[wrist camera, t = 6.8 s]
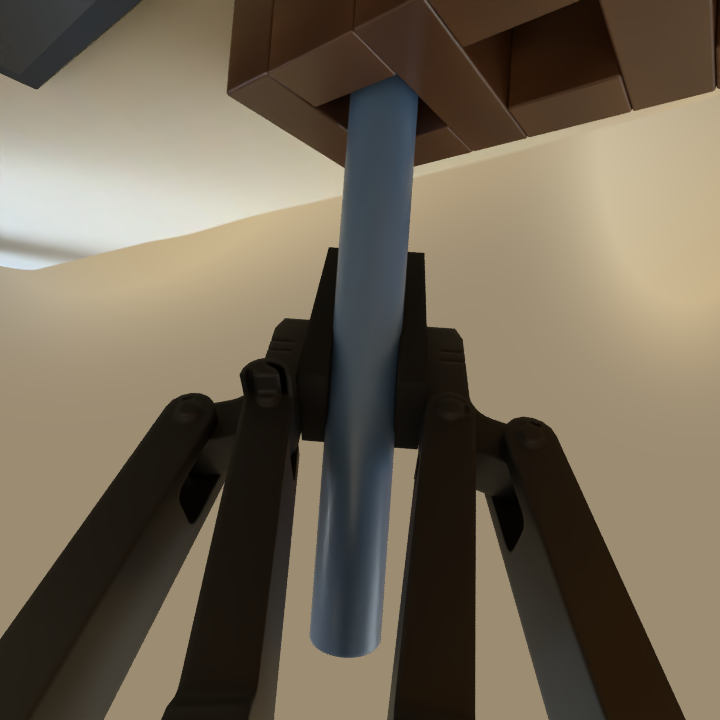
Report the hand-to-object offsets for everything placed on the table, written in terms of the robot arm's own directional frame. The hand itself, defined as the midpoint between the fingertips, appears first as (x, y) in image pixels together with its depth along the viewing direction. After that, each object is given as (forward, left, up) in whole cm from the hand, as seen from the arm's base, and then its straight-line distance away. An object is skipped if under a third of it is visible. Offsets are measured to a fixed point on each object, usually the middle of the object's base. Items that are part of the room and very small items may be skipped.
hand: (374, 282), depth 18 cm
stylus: (+2, +3, -7) cm, 8 cm away
